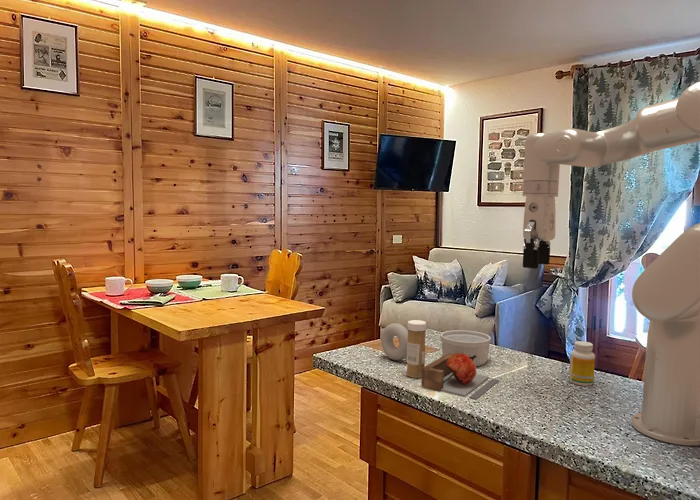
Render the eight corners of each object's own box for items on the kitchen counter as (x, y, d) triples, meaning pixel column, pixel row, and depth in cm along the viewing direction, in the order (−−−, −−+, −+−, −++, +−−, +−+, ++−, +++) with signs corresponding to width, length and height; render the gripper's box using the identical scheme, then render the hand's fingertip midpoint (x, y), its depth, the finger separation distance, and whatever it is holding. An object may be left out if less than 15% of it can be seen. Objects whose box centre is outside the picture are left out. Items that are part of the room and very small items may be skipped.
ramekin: (429, 359, 140) (430, 334, 139) (458, 351, 149) (459, 327, 148) (471, 372, 130) (472, 345, 130) (499, 362, 139) (500, 336, 138)
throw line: (499, 380, 124) (499, 379, 124) (476, 399, 112) (476, 398, 112) (492, 379, 125) (492, 378, 125) (469, 397, 113) (469, 397, 113)
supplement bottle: (565, 378, 127) (567, 340, 126) (586, 378, 127) (589, 340, 126) (575, 386, 121) (577, 346, 120) (597, 386, 122) (600, 346, 121)
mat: (488, 378, 126) (488, 376, 126) (465, 396, 113) (465, 395, 113) (456, 371, 130) (456, 370, 130) (429, 388, 118) (430, 386, 118)
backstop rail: (466, 373, 129) (467, 356, 129) (440, 391, 116) (441, 372, 116) (448, 369, 132) (449, 352, 131) (421, 386, 119) (421, 368, 118)
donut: (414, 363, 136) (415, 325, 136) (405, 365, 134) (406, 327, 133) (386, 354, 144) (387, 319, 143) (377, 357, 141) (378, 320, 140)
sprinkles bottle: (428, 376, 126) (430, 322, 125) (414, 379, 124) (416, 324, 122) (416, 371, 130) (418, 318, 129) (402, 374, 127) (403, 320, 126)
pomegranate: (454, 398, 117) (490, 372, 117) (434, 372, 117) (470, 346, 117) (449, 390, 124) (483, 366, 124) (431, 365, 125) (464, 341, 124)
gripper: (548, 188, 107) (543, 271, 108) (566, 191, 121) (562, 264, 123) (511, 188, 111) (507, 268, 112) (533, 191, 125) (530, 261, 127)
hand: (536, 265), depth 117 cm, fingers open, 9 cm apart
